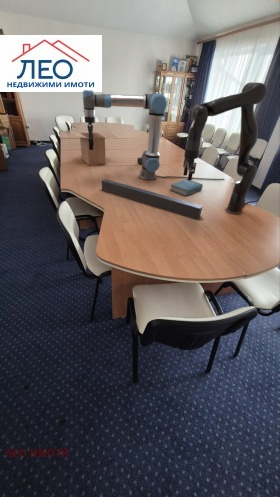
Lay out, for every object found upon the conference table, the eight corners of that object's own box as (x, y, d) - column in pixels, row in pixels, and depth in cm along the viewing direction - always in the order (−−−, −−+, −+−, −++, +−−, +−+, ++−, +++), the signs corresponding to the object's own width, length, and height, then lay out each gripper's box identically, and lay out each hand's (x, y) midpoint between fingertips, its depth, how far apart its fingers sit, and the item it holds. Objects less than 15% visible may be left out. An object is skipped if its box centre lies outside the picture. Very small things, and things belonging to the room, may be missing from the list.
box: (116, 165, 229) (116, 136, 213) (83, 168, 214) (80, 137, 198) (102, 154, 259) (101, 128, 243) (71, 156, 244) (68, 129, 228)
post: (101, 190, 174) (101, 180, 170) (105, 188, 178) (105, 178, 173) (197, 219, 145) (200, 208, 140) (199, 216, 148) (202, 205, 144)
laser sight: (156, 166, 234) (157, 157, 228) (136, 164, 237) (136, 154, 231) (158, 164, 241) (159, 154, 236) (138, 162, 244) (138, 152, 238)
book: (186, 184, 196) (187, 178, 193) (201, 190, 188) (203, 184, 185) (170, 190, 183) (171, 184, 180) (185, 196, 174) (187, 190, 171)
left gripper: (85, 114, 169) (87, 144, 182) (83, 118, 150) (86, 151, 162) (95, 114, 170) (96, 144, 183) (94, 118, 151) (96, 151, 163)
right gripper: (203, 151, 116) (197, 182, 126) (194, 145, 128) (189, 173, 137) (189, 151, 115) (184, 181, 125) (182, 145, 127) (177, 173, 136)
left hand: (91, 147), depth 173 cm, fingers open, 13 cm apart
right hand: (187, 177), depth 131 cm, fingers open, 8 cm apart
